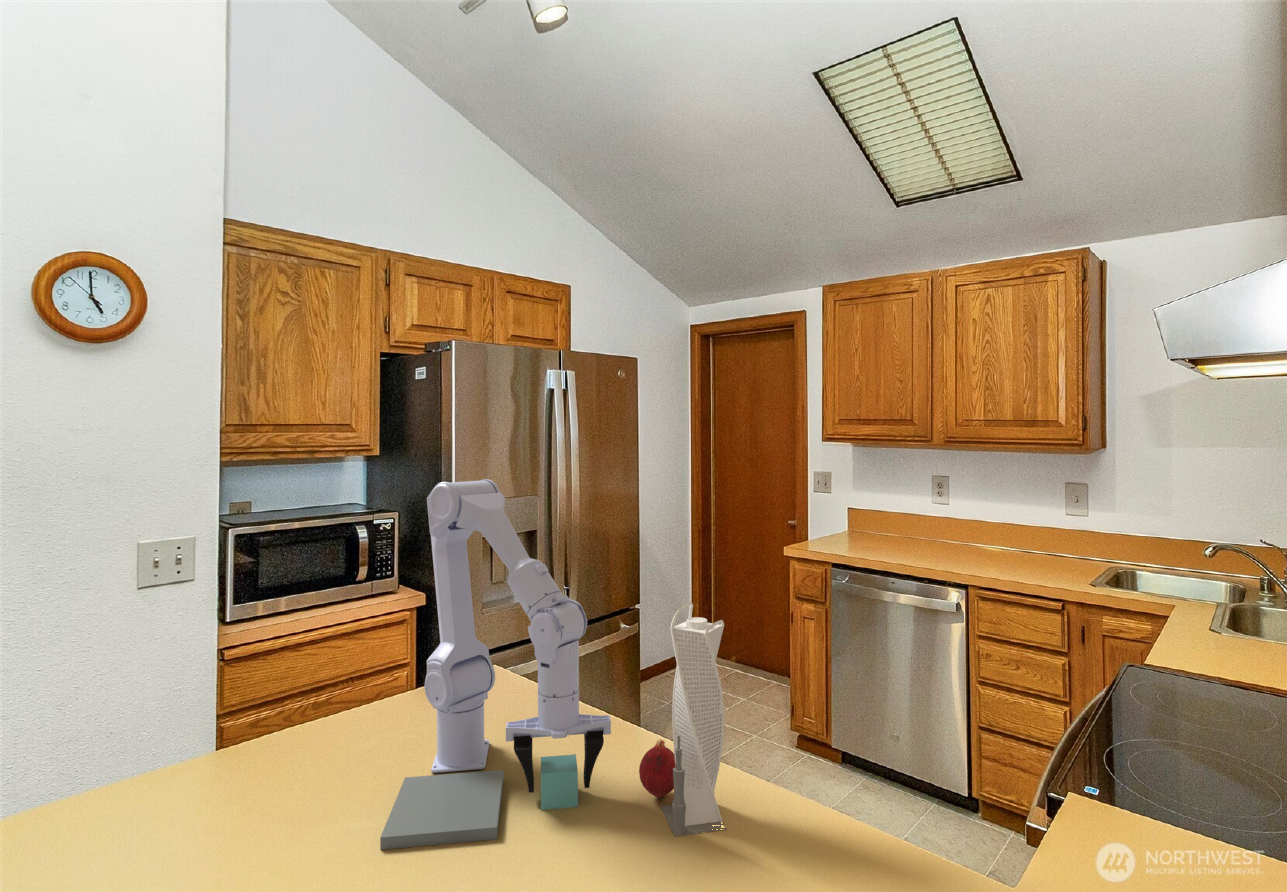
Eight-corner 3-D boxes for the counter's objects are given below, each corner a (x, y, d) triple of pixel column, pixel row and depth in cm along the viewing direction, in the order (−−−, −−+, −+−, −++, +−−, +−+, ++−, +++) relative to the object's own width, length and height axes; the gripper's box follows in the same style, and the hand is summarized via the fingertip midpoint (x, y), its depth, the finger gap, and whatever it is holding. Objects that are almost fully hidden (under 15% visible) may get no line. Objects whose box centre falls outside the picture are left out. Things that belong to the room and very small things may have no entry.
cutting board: (405, 787, 97) (405, 777, 97) (503, 779, 99) (503, 769, 99) (380, 849, 82) (380, 837, 82) (496, 838, 84) (496, 827, 84)
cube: (541, 791, 96) (540, 756, 96) (576, 788, 97) (575, 754, 97) (541, 810, 91) (540, 773, 91) (577, 807, 92) (577, 770, 92)
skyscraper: (659, 803, 93) (658, 602, 93) (714, 797, 95) (714, 599, 95) (674, 838, 85) (673, 617, 85) (735, 830, 87) (734, 614, 86)
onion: (677, 810, 91) (676, 751, 91) (635, 806, 92) (635, 748, 92) (683, 789, 96) (682, 733, 96) (643, 785, 98) (643, 730, 98)
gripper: (504, 704, 89) (504, 806, 89) (612, 697, 91) (613, 797, 91) (506, 685, 96) (507, 780, 96) (607, 679, 98) (608, 772, 98)
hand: (559, 786), depth 94 cm, fingers open, 7 cm apart
